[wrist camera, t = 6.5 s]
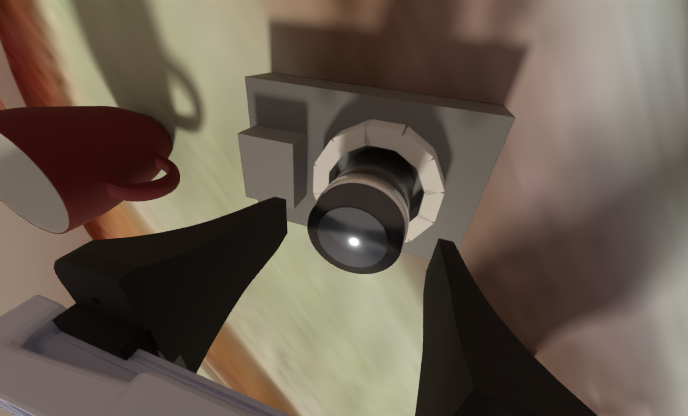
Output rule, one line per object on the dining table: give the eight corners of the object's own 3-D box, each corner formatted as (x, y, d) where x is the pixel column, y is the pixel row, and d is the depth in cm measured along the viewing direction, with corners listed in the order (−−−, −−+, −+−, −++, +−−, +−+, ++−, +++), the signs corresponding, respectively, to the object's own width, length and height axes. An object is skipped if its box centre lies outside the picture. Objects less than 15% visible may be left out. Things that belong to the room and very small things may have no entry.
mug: (208, 109, 21) (66, 149, 13) (219, 193, 26) (117, 261, 18) (105, 81, 23) (-77, 100, 15) (132, 164, 28) (3, 214, 20)
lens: (409, 218, 17) (396, 288, 12) (342, 205, 18) (306, 265, 13) (422, 150, 15) (412, 204, 10) (344, 140, 16) (300, 184, 11)
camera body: (450, 239, 21) (452, 286, 17) (278, 196, 24) (244, 227, 20) (503, 105, 15) (526, 128, 11) (271, 72, 18) (222, 80, 14)
